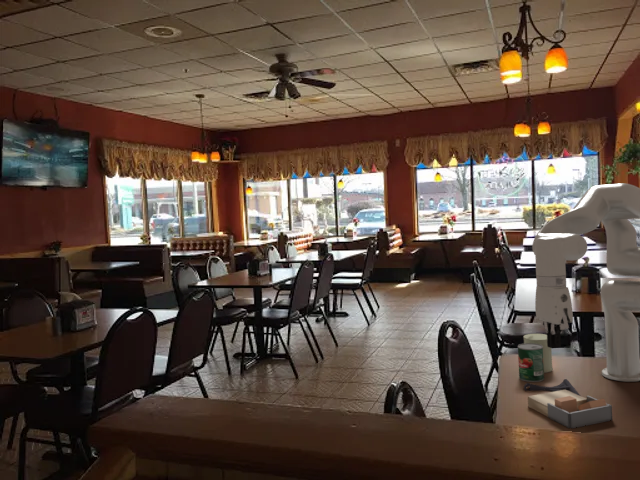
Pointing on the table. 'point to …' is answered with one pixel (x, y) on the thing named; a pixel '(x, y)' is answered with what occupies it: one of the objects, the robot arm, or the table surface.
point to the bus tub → (580, 415)
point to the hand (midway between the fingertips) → (554, 347)
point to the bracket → (563, 386)
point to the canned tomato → (531, 362)
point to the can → (547, 351)
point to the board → (551, 400)
